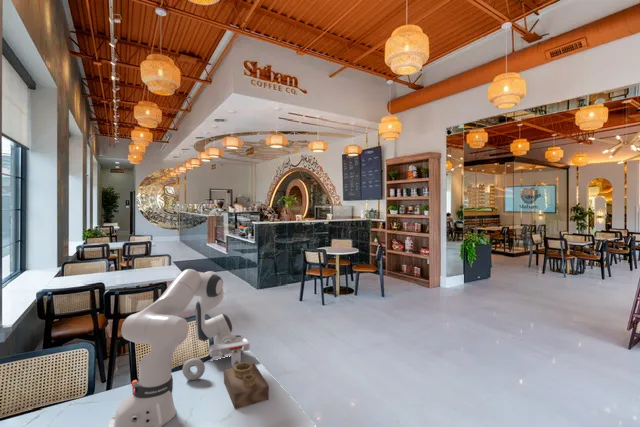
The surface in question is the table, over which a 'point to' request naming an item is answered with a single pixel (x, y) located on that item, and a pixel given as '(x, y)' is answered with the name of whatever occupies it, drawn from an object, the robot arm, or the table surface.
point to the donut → (189, 373)
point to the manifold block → (245, 385)
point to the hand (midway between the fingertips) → (232, 353)
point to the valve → (235, 355)
